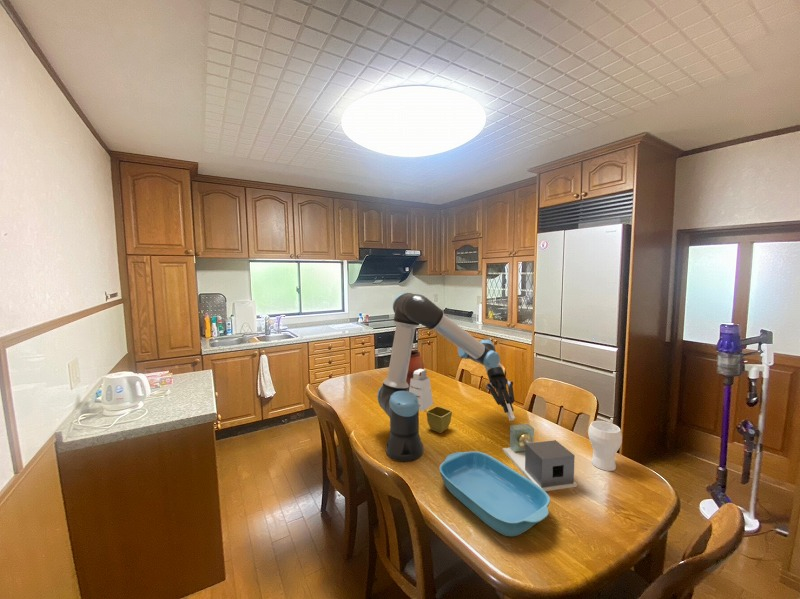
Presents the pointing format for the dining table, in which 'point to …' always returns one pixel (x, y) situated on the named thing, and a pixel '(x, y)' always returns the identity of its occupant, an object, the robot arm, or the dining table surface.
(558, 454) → the bearing block
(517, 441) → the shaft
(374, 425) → the dining table surface
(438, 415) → the flower pot
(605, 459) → the cup
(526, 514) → the casserole dish
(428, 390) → the grater
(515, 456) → the base board
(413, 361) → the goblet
